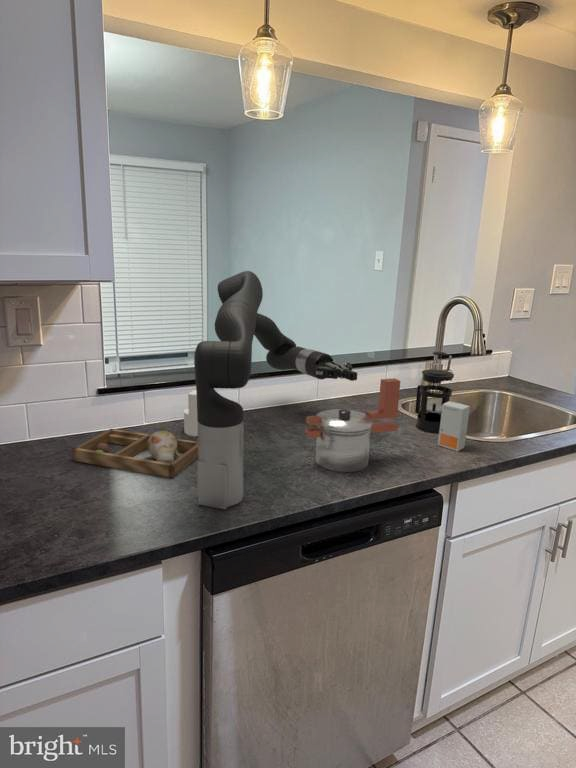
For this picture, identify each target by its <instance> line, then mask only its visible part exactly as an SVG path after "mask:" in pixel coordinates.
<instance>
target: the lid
mask: <svg viewBox="0 0 576 768" xmlns="http://www.w3.org/2000/svg"><path fill="white" fill-rule="evenodd" d="M379 383H380V387H379V398H378V399H379V400H378V409H375V410H365V412H362V411H357V410H352V409H344V408H343V409H341V408H340V409H339V408H338V409H336V408H335V409H328V410H323V411H321V412H318V413H317V414H316V415H307V416H305V422H306V424H308V425H309V426H317V425H319V426H320V427H322V428H325V429H328V430H332V431H337V432H361V431H365V430H368V429H370V428H371V427H372V426H373V422H374V420H382V419H384V420H385V419H392V418H394V419H395V418H398V412H399V401H400V389H401V380H400V379H397V378H395V377H394V378H381V379H380V382H379Z"/></svg>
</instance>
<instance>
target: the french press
mask: <svg viewBox="0 0 576 768" xmlns="http://www.w3.org/2000/svg"><path fill="white" fill-rule="evenodd" d="M432 354H433V355H435V356H437V360H438V363H437V369H424V370H422V371H421V374H422V380H423V381H424V382H427V383H430V384H427V385H424V384H418V385H417V388H416V400H415V409H414V413H415V414H417V419H416V423H415V427H416V429H417V430H420V431H422V432H425V433H429V434H439V430H440V422H441V413H442V405H443V404H444V403H446V402H449V401H450V398H451V397H452V393H453V389H451V388H450V387H447V386H443V385H442V386H441V385H438V384H439V383H441V382H443V381H444V380H449V381H451V382H452V381H453V378H454V377H455V374H454V373H453V372H451V371H448V370H443V369H440V363H441V360H442V356H448V353H447V352H444V351H434V352H432ZM432 384H435V385H432ZM430 390H434V392H430ZM437 391H441V392H442V393H440V392H439V393H437ZM428 397H429V398H434V399H433V403H432V402H428V400H429V398H428ZM437 399H441V404H439V403H436V401H437Z"/></svg>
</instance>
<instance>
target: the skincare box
mask: <svg viewBox="0 0 576 768" xmlns="http://www.w3.org/2000/svg"><path fill="white" fill-rule="evenodd" d="M470 409H471V406H470V405H466V404H462V403H459V402H454V401H451V400H449V402H446V403H444V404H443V405H442V413H441V422H440V430H439V433H438V438H437V439H438V440H437V446H440V447H443V448H445V449H449V450H453V451H455V452H459V451H461V450H463V449H464V448H465V446H466V439H467V430H468V421H469V416H470Z"/></svg>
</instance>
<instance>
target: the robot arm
mask: <svg viewBox="0 0 576 768" xmlns="http://www.w3.org/2000/svg"><path fill="white" fill-rule="evenodd" d="M263 293H264V292H263V286H262V283H261V281H260V279H259V277H258V275H256V273H254V272H253V271H250V270H244V271H241V272H239V273H236V274H233V276H230V277H228V278H225V279H223V280H221V281H220V282H219V283H218V284H217V294H218V297H219V300H220V302H221V303H222V305H221V306H220V307H219V308H218V311H217V314H216V316H215V317H216V318H215V321H214V331H215V335H216V336H217V338H218V340H202V341H200V342H199V343H198V344H197V346H196V348H195V351H194V360H193V361H194V364H193V365H194V378H195V379H194V380H195V389H196V393H197V424H198V437H197V442H198V458H197V468H196V469H197V471H196V472H197V505H200V506H205V507H211V508H214V509H215V508H216V509H220V510H227V509H228V508H229V507H232V506H235V505H238V504H239V503H240V502H241V501H242V500H243V498H244V408H243V406H242V405H241V404H239V403H238V402H237V401H234V400H232V399H229V398H227V397H224V396H223V395H222V394H220V393H218V391H216V389H231V390H232V389H233V390H234V389H235V390H236V389H241V388H244V387H245V386H246V385H247V384H248V382H249V380H250V378H251V372H252V360H253V359H252V355H253V340H254V337H255V338H256V339H257V342H259V344H260V345H261V346H262V347H263V348H264V350H266V351H268V352H267V353H266V356H265V359H266V363H267V364H268V365H269V366H270V367H271V368H273V369H275V370H281V371H285V370H286V371H287V370H296V371H298V372H301V373H302V374H305V375H307V376H309V377H312V378H315V379H319V380H325V379H332V380H333V379H334V380H337V379H340V380H341V379H344V380H345V379H346V380H348V381H351V382H353V381H357V380H358V372H357V371H354V370H353V366H352V363H351V362H346V363H345V364H342V363H340V362H338V361H336V360H334V359H333V357H332V356H331V355H330V354H328V353H325V352H322V351H320V350H319V351H318V350H314V349H309V348H305V347H301V346H297V344H296V342H295V341H294V340H292V339H291V338H289V337H287V335H285V334H283V333H282V331H281V330H280V328H279V327H278V325H277V324H276V322H275V321H274V320H272V318H270V317H268V316H266V315H263V314H262V313H258V311H259V309H260V306H261V303H262V301H263V296H264V294H263Z"/></svg>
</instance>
